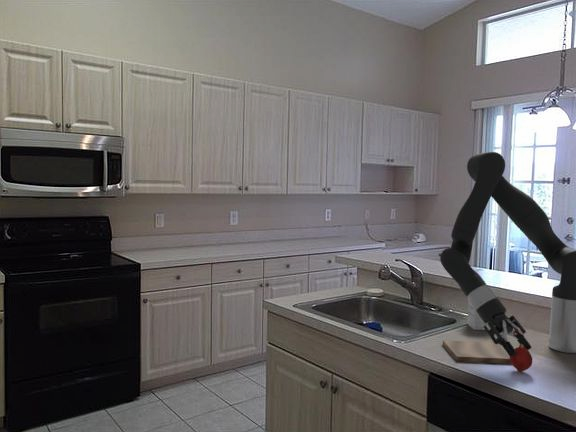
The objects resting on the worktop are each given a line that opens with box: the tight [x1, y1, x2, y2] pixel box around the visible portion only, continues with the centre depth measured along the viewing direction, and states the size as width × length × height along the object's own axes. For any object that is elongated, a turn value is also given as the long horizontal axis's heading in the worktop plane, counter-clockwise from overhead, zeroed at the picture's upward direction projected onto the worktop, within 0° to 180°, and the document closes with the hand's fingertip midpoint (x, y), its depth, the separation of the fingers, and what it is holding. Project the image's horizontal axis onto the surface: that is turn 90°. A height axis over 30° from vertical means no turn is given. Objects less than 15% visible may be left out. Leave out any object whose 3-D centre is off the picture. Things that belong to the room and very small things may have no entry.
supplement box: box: [466, 300, 487, 331], centre depth 179 cm, size 7×7×13 cm
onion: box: [510, 344, 533, 373], centre depth 136 cm, size 6×6×8 cm
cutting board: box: [442, 339, 512, 365], centre depth 150 cm, size 20×15×2 cm
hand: (521, 352), depth 136 cm, fingers open, 8 cm apart
